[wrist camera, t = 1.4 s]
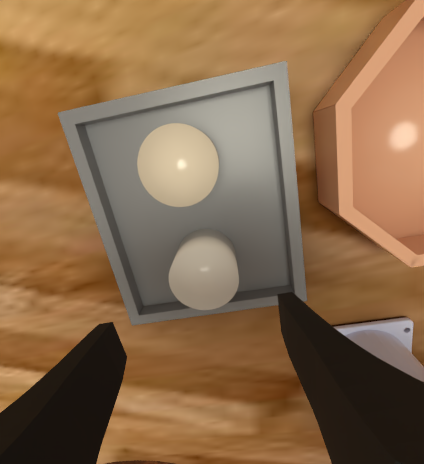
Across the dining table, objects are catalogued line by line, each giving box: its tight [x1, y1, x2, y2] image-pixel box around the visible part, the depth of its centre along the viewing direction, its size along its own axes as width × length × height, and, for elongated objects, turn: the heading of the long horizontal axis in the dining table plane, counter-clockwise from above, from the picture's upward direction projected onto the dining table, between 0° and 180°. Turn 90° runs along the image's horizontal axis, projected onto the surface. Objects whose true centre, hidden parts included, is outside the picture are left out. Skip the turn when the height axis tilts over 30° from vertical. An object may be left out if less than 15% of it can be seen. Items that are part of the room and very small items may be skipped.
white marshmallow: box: [169, 229, 239, 310], centre depth 18 cm, size 4×4×4 cm
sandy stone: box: [137, 123, 219, 207], centre depth 16 cm, size 4×4×4 cm
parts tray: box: [58, 61, 307, 325], centre depth 18 cm, size 16×14×2 cm
